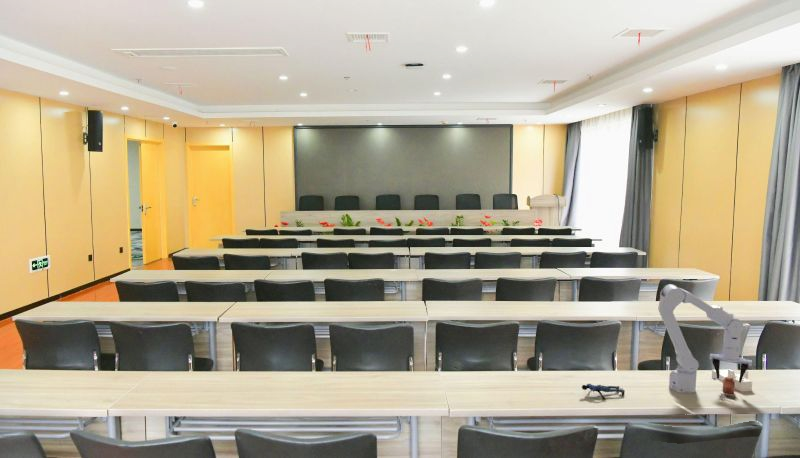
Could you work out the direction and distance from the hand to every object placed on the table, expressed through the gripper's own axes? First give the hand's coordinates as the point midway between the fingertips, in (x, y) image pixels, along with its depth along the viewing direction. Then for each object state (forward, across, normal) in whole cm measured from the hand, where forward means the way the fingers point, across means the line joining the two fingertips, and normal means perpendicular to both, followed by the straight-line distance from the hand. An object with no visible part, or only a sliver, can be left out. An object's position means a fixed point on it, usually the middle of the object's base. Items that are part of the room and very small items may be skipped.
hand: (728, 379), depth 223 cm
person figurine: (+7, -42, -29) cm, 51 cm away
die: (+6, +4, +8) cm, 11 cm away
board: (+6, 0, -5) cm, 8 cm away
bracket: (+7, 0, +16) cm, 18 cm away
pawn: (+5, 0, 0) cm, 5 cm away
